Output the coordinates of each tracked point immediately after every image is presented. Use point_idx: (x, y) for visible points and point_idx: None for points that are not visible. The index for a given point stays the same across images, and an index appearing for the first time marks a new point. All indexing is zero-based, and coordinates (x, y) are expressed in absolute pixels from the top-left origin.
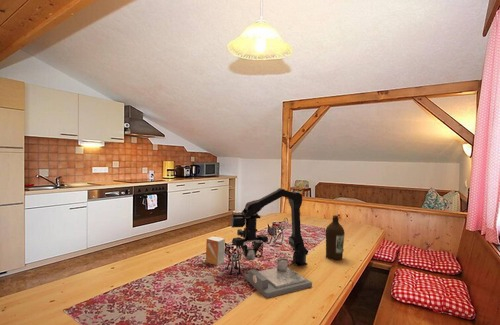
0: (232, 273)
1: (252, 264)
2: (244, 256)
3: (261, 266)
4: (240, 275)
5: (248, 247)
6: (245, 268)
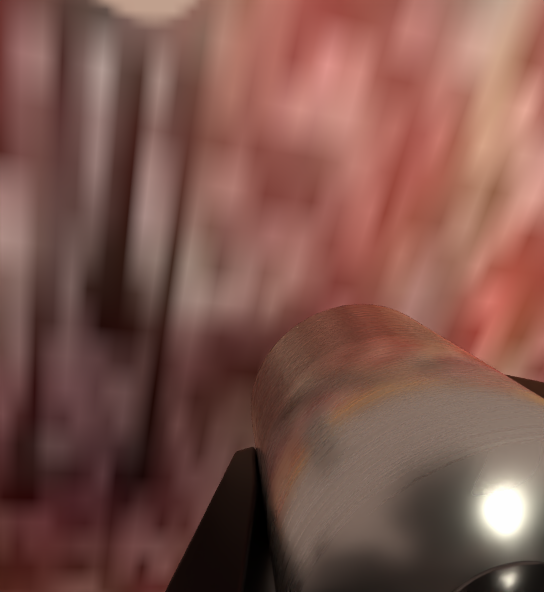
0: (46, 481)
1: (381, 225)
2: (234, 456)
3: (473, 310)
4: (147, 531)
5: (510, 456)
6: (247, 350)
